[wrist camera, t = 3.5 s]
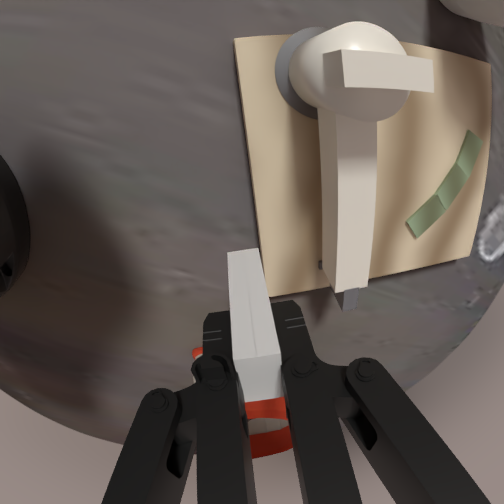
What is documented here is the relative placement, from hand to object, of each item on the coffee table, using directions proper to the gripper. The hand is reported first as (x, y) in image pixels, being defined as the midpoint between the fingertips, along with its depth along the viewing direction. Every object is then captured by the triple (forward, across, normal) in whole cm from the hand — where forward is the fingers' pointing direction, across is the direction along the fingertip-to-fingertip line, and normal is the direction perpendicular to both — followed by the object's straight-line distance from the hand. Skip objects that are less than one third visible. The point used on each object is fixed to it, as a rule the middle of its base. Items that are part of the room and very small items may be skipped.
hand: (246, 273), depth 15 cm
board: (+7, +11, +3) cm, 13 cm away
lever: (+5, +6, +3) cm, 9 cm away
